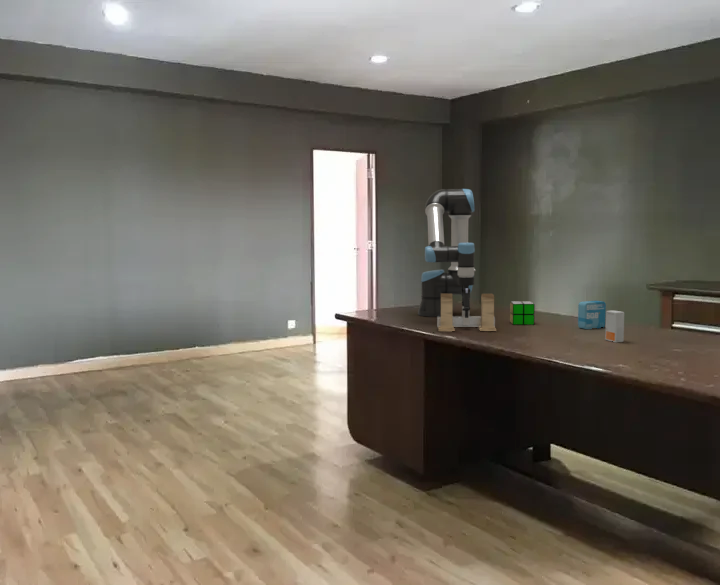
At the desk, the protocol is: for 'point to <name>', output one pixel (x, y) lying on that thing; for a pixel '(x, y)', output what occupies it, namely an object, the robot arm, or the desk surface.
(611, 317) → the skincare box
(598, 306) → the data package
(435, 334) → the desk surface
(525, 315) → the puzzle cube
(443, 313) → the post
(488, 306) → the post
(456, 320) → the rail
